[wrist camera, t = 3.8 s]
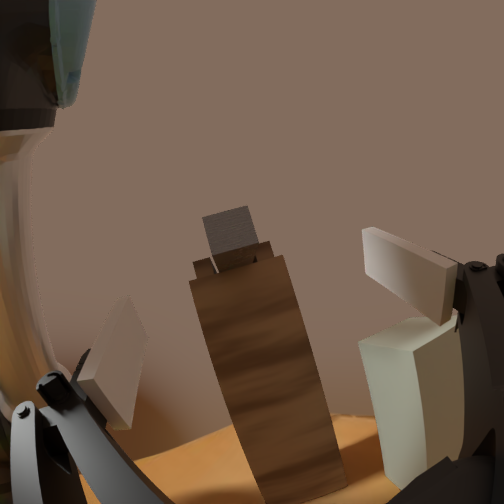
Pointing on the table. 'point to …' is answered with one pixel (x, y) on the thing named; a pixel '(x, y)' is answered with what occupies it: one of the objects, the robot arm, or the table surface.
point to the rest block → (416, 395)
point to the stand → (269, 377)
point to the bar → (231, 238)
